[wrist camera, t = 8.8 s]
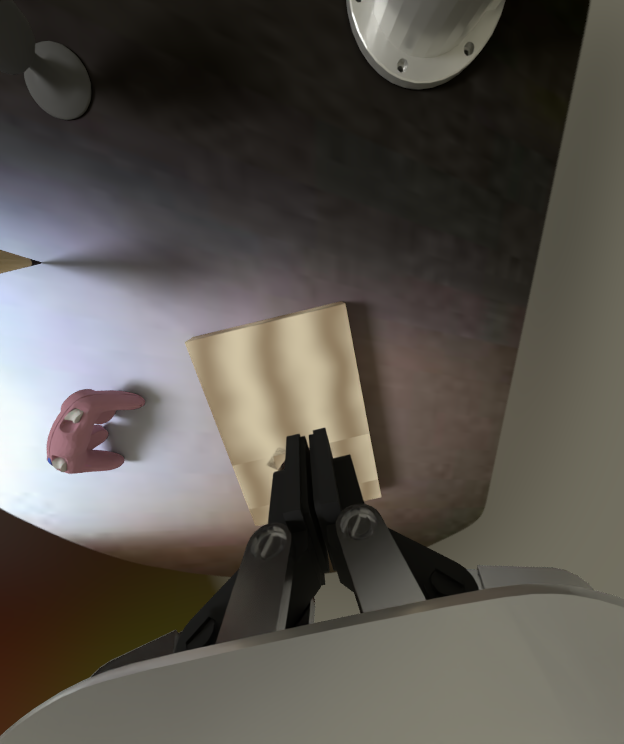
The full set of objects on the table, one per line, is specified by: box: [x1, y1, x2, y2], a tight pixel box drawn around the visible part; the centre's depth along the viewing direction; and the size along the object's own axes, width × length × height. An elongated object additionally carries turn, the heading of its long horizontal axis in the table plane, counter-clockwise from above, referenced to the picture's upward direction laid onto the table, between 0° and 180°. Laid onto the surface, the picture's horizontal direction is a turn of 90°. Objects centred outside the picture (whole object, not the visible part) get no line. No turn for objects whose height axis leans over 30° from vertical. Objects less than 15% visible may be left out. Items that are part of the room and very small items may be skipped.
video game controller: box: [47, 389, 145, 474], centre depth 30 cm, size 10×5×7 cm, turn 153°
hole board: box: [185, 301, 381, 526], centre depth 33 cm, size 16×24×2 cm, turn 13°
